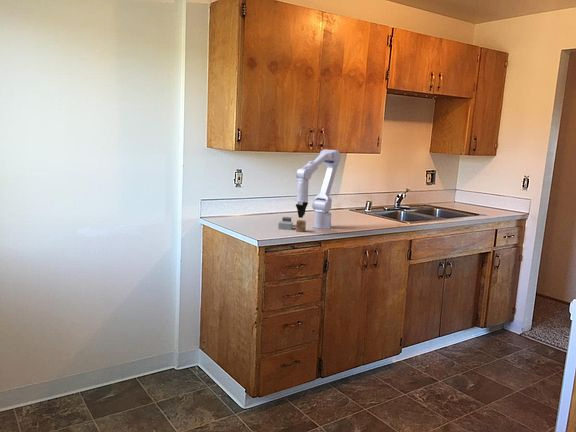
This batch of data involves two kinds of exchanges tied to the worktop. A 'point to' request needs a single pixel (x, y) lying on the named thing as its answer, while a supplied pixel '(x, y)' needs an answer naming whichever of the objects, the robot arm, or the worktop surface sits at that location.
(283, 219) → the charcoal block
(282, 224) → the slate base block
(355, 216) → the worktop surface
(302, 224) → the walnut block
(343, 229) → the worktop surface
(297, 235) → the worktop surface
